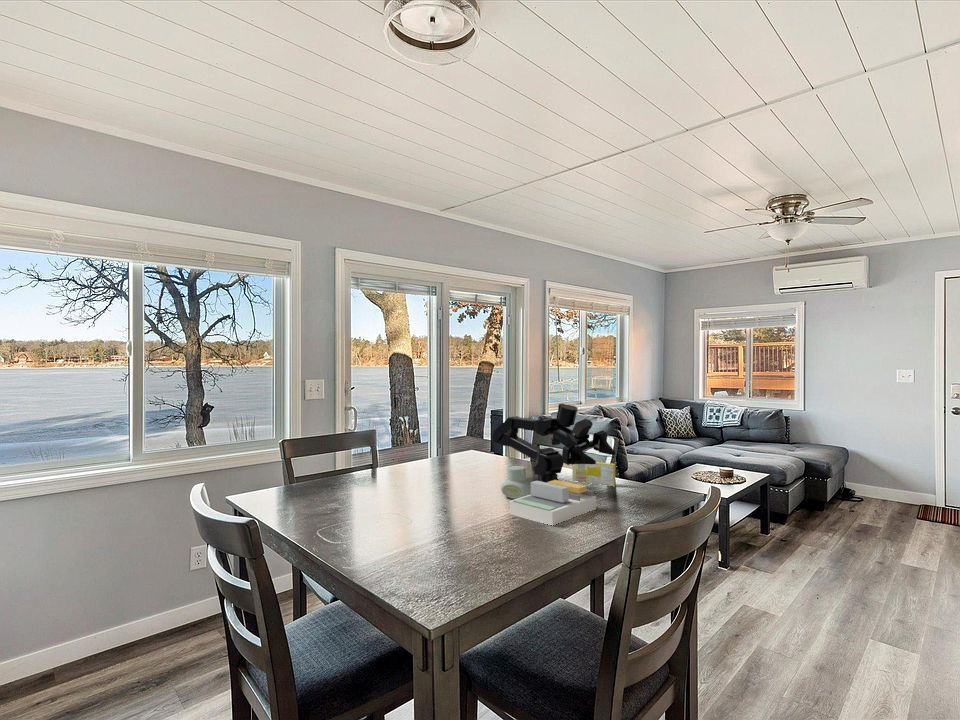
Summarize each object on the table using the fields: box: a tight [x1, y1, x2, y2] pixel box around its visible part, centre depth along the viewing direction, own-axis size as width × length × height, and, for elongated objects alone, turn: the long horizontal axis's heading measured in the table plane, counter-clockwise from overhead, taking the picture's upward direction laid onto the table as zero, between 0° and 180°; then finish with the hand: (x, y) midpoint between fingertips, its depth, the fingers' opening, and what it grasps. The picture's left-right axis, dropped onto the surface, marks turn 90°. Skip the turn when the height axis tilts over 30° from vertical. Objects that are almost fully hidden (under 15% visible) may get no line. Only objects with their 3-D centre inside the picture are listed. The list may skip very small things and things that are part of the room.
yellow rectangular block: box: [548, 479, 588, 493], centre depth 160 cm, size 12×4×2 cm, turn 45°
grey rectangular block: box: [530, 480, 569, 503], centre depth 154 cm, size 12×3×4 cm, turn 45°
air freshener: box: [500, 465, 531, 500], centre depth 172 cm, size 11×8×10 cm
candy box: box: [571, 461, 616, 488], centre depth 189 cm, size 16×2×8 cm, turn 58°
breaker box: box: [509, 489, 597, 527], centre depth 155 cm, size 16×22×6 cm
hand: (605, 458), depth 160 cm, fingers open, 9 cm apart
